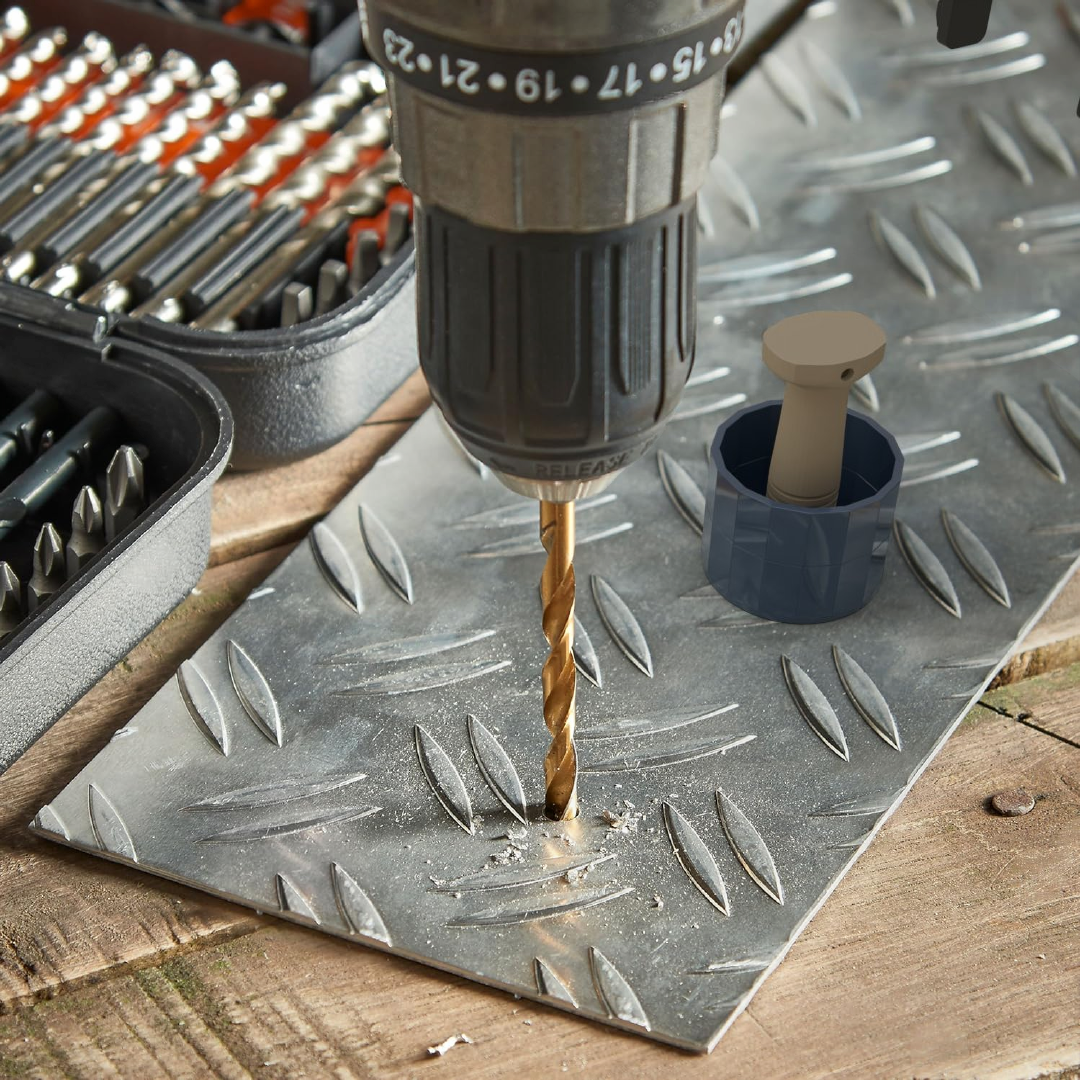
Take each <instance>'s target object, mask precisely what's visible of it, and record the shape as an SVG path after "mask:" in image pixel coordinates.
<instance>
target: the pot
mask: <svg viewBox="0 0 1080 1080" xmlns="http://www.w3.org/2000/svg"><path fill="white" fill-rule="evenodd" d="M783 399H784V398H783ZM783 399H781V398H779V399H767V400H764V401H761V402H758V403H756V404H753V405H750V406H747V407H742V408H740V409H738V410H737V411H735V412H734V413H733V414H732V415H731V416H729V417H728V418H727V419H726V420H724V421H723V422H722V423H720V424H719V425H718V426H717V429H716V431H715V434H714V437H713V439H712V442H711V445H710V450H709V461H708V462H709V463H708V471H707V482H706V493H705V502H704V503H705V504H704V514H703V523H702V524H703V525H702V534H701V535H702V536H701V546H700V553H701V561H702V569H703V571H704V573H705V576H706V578H707V579H708V581H709V583H710V584H711V586H712V587H713V588H714V590H716V592H717V593H719V595H721V597H723V599H725V600H726V601H728V602H729V603H731V604H732V605H733V606H735V607H736V608H738V609H741V610H742V611H745V612H747V613H749V614H751V615H754V616H756V617H760V618H762V619H765V620H770V621H774V622H779V623H787V624H797V625H798V624H799V625H808V624H809V625H810V624H819V623H820V624H821V623H826V622H831V621H832V622H833V621H836V620H839V619H842V618H845V617H847V616H849V615H851V614H853V613H856V612H857V611H859V610H860V609H862V608H864V607H865V606H866V605H867V604H868V603H869V602H871V600H872V599H873V598H874V596H875V595H876V593H877V591H878V590H879V588H880V587H881V586H880V585H881V583H882V578H883V574H884V569H885V562H886V558H887V554H888V547H889V543H890V539H891V533H892V528H893V522H894V519H895V514H896V513H895V512H896V509H897V502H898V498H899V497H898V496H899V492H900V487H901V481H902V476H903V472H904V466H905V462H906V460H905V457H904V455H903V452H902V450H901V447H900V446H899V444H898V442H897V440H896V437H895V436H894V435H893V434H892V433H891V432H889V431H888V430H887V429H886V428H885V427H883V426H882V425H881V424H880V423H878V422H877V421H876V420H875V419H873V418H872V417H871V416H869V415H866V414H863V413H862V412H860V411H857V410H855V409H852V408H850V407H847V414H846V423H845V433H844V445H843V457H842V469H841V480H840V487H839V493H838V499H837V504H836V507H822V508H807V507H802V506H796V505H791V504H785V503H780V502H775V501H773V500H771V499H769V498H766V493H767V484H768V476H769V469H770V464H771V459H772V455H773V450H774V445H775V440H776V435H777V431H778V426H779V421H780V415H781V410H782V405H783Z"/></svg>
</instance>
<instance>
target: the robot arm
mask: <svg viewBox="0 0 1080 1080" xmlns="http://www.w3.org/2000/svg"><path fill="white" fill-rule="evenodd" d="M992 6H993V0H938V1H937V5H936V11H935V19H936V21H935V22H936V27H937V30H936V41H937V42H938V44H940V45H942V46H944V47H946V48H948V49H949V50H957V49H960V48H965V47H969V46H973V45H977V44H979V43H980V42H982V40H983V39H984V38H985V36H986V34H987V31H988V26H989V21H990V16H991V11H992ZM1078 99H1079V100H1078V103H1077V106H1076V116H1077V118H1079V119H1080V97H1079V98H1078Z"/></svg>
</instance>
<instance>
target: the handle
mask: <svg viewBox="0 0 1080 1080" xmlns="http://www.w3.org/2000/svg"><path fill="white" fill-rule="evenodd" d="M886 345H887V335H886V332H885V331H884V329H883V328H882V327H881V326H880V325H879V324H878V323H877V322H876V321H875V320H874V319H872V318H871V317H868V316H866V315H865V314H863V313H860V312H857V311H853V310H833V309H832V310H829V309H826V310H814V311H809V312H803V313H800V314H796V315H792V316H788V317H785V318H783V319H782V320H779V321H778V322H776V323H775V324H773V325H772V326H770V327H769V328H768V329H766V330H765V331H763V337H762V345H761V358H762V361H763V364H764V365H765V366H766V368H767V369H768V370H769V371H771V373H773V374H774V375H775V376H777V377H778V378H779V379H781V380H782V381H784V382H785V387H784V388H785V390H784V394H783V405H782V410H781V415H780V421H779V426H778V431H777V435H776V440H775V445H774V450H773V455H772V459H771V464H770V469H769V476H768V484H767V493H766V498H769V499H771V500H773V501H775V502H780V503H785V504H791V505H796V506H802V507H807V508H822V507H836V504H837V499H838V493H839V487H840V480H841V469H842V457H843V445H844V433H845V423H846V414H847V408H848V403H849V394H850V389H851V386H852V384H855V383H857V382H858V381H859V380H861V379H862V378H864V377H866V376H867V375H868V374H869V373H870V372H872V371H873V370H874V369H876V367H878V366H879V365H880V364H881V363H882V362H883V359H884V356H885V352H886Z"/></svg>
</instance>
